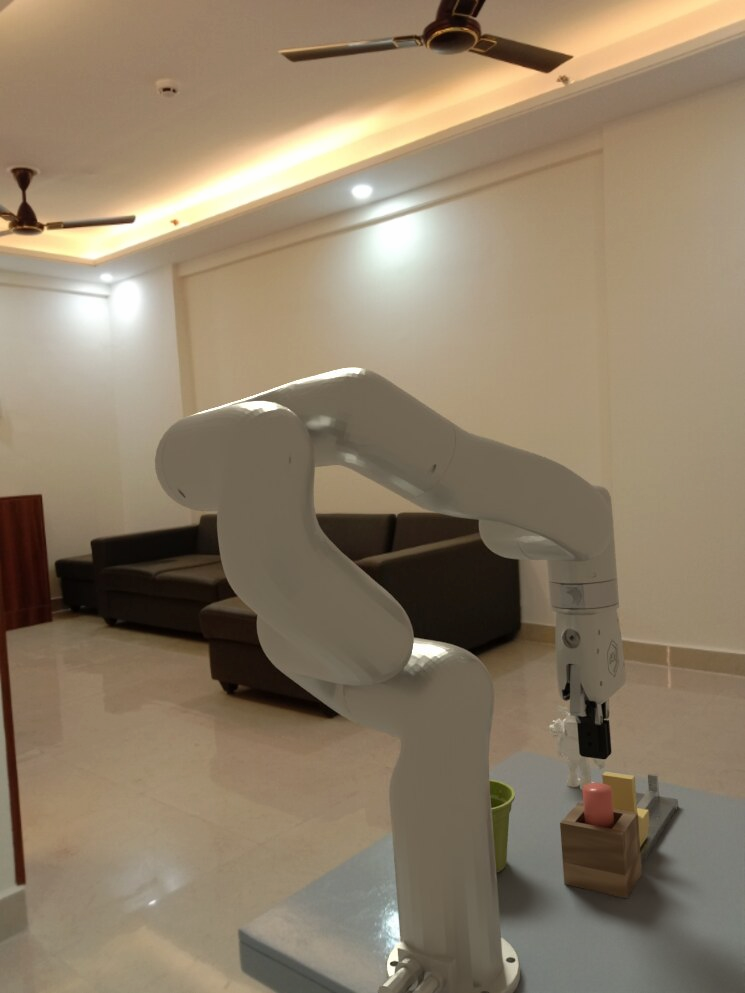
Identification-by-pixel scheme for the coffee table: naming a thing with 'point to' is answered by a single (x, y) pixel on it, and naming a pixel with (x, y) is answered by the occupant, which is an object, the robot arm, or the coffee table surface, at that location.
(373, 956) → the coffee table surface
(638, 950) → the coffee table surface
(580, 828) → the wooden box
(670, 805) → the rail
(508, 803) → the plant pot
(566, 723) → the flower shoulder figurine
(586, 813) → the plunger
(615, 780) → the carriage
